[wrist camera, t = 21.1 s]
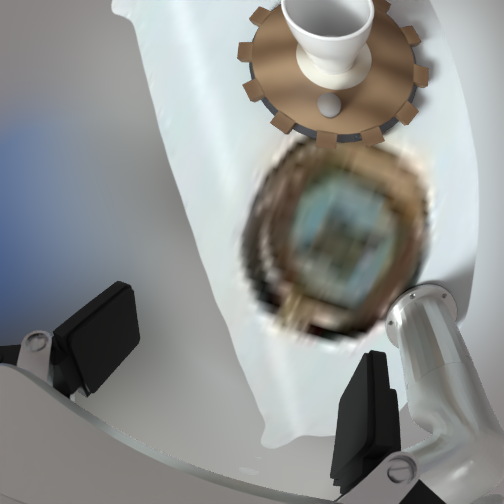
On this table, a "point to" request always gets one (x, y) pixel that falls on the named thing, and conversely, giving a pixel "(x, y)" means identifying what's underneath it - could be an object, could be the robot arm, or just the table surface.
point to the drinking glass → (330, 30)
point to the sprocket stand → (340, 138)
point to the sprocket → (334, 79)
